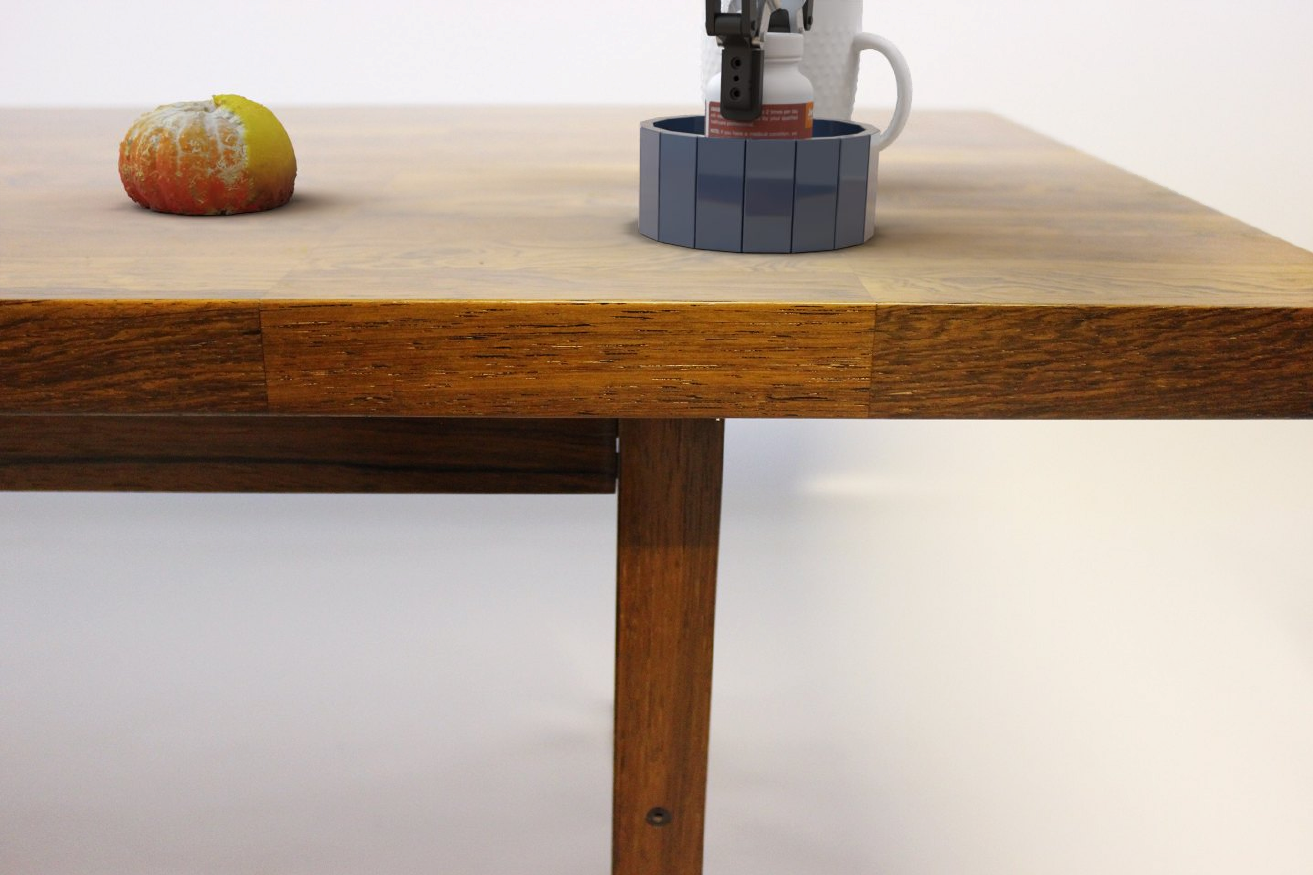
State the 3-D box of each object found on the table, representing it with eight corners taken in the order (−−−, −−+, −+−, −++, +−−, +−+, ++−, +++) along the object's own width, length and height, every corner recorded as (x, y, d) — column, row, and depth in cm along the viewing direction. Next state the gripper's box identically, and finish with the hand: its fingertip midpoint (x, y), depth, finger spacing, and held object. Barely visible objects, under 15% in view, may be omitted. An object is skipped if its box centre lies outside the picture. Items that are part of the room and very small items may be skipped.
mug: (920, 183, 98) (935, -6, 94) (885, 205, 88) (900, -5, 84) (726, 169, 103) (732, -11, 99) (673, 189, 94) (678, -10, 89)
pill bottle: (823, 238, 77) (835, 35, 74) (721, 242, 76) (727, 35, 72) (785, 219, 83) (794, 30, 79) (689, 222, 81) (693, 30, 78)
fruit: (135, 182, 90) (160, 63, 88) (292, 228, 92) (321, 113, 90) (86, 206, 79) (113, 71, 77) (265, 257, 81) (297, 127, 79)
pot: (893, 220, 83) (900, 121, 81) (840, 261, 71) (847, 145, 69) (684, 204, 88) (686, 109, 86) (602, 240, 76) (602, 131, 74)
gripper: (804, -230, 64) (787, 131, 70) (871, -195, 77) (852, 107, 82) (656, -224, 67) (651, 123, 72) (744, -192, 79) (734, 101, 85)
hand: (758, 113), depth 77 cm, fingers closed on pill bottle, 6 cm apart
